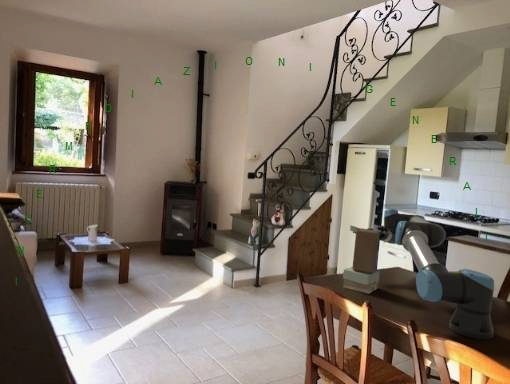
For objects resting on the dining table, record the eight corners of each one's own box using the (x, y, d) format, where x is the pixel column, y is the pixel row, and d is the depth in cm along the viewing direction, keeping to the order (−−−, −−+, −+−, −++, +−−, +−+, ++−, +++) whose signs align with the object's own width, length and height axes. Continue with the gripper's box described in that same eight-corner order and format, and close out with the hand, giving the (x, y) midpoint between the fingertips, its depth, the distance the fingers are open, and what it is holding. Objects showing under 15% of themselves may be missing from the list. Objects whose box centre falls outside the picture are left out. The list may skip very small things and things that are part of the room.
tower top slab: (367, 285, 197) (368, 275, 196) (342, 278, 205) (343, 269, 205) (378, 280, 206) (379, 271, 206) (355, 274, 215) (355, 265, 214)
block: (372, 274, 199) (376, 233, 198) (351, 270, 203) (355, 230, 202) (375, 270, 208) (380, 230, 207) (355, 266, 212) (359, 228, 211)
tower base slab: (368, 294, 197) (369, 285, 197) (343, 287, 204) (344, 278, 204) (378, 288, 207) (378, 280, 207) (353, 282, 215) (354, 274, 215)
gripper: (403, 240, 219) (383, 234, 205) (361, 240, 237) (341, 235, 222) (403, 226, 221) (384, 219, 207) (362, 227, 238) (341, 221, 224)
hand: (361, 227), depth 214 cm, fingers open, 13 cm apart
